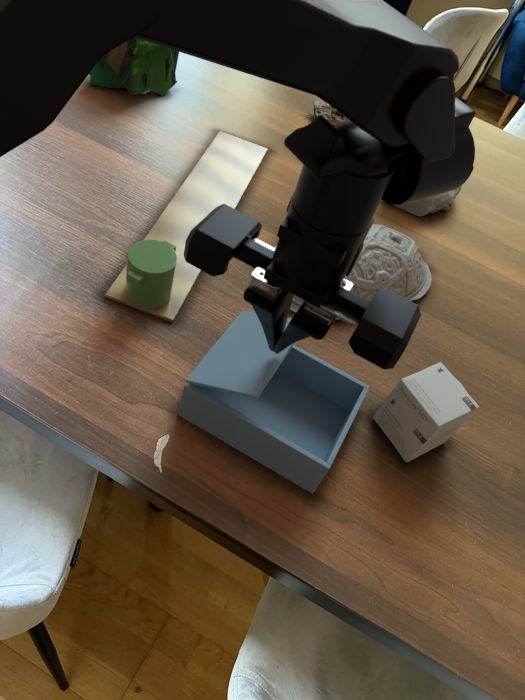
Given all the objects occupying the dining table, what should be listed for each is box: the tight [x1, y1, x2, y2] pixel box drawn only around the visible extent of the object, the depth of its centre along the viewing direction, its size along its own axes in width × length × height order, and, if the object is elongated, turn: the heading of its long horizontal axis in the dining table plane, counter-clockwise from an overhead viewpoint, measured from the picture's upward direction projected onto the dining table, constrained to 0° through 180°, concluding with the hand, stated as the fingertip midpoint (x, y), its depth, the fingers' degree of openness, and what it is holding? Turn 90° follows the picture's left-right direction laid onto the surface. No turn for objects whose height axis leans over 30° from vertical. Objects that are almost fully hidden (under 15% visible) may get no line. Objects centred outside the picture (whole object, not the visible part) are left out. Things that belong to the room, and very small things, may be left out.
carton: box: [177, 344, 371, 494], centre depth 57 cm, size 15×11×5 cm
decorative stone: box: [390, 184, 463, 218], centre depth 89 cm, size 13×10×6 cm
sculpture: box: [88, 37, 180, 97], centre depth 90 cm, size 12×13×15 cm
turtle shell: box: [273, 223, 433, 320], centre depth 74 cm, size 16×25×7 cm, turn 115°
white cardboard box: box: [372, 361, 480, 463], centre depth 59 cm, size 6×6×7 cm
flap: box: [185, 310, 296, 399], centre depth 54 cm, size 7×11×1 cm
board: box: [104, 130, 268, 323], centre depth 76 cm, size 40×8×1 cm, turn 164°
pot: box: [125, 239, 177, 309], centre depth 63 cm, size 7×5×6 cm
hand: (275, 348), depth 52 cm, fingers closed
